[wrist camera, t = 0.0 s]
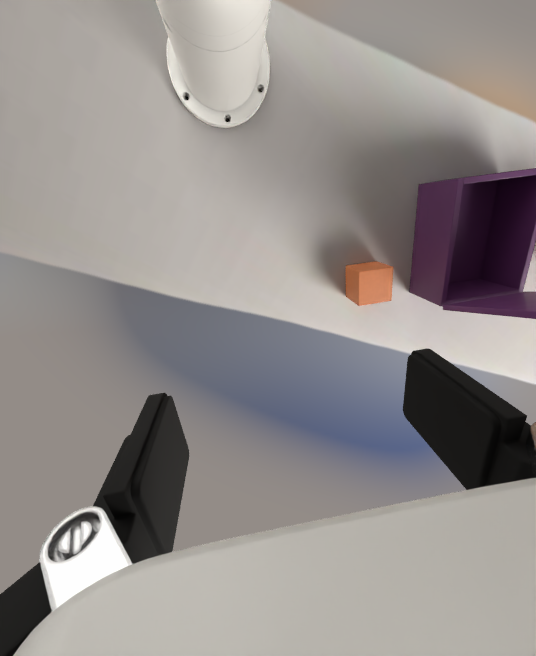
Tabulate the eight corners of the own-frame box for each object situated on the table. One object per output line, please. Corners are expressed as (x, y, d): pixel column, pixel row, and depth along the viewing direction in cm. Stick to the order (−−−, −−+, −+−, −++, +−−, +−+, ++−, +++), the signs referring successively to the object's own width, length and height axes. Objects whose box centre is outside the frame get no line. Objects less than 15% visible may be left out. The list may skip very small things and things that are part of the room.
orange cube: (345, 265, 47) (358, 271, 42) (376, 260, 47) (393, 266, 42) (345, 296, 49) (358, 306, 44) (375, 291, 49) (391, 300, 44)
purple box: (418, 184, 43) (458, 178, 36) (499, 173, 44) (555, 165, 36) (409, 292, 50) (440, 306, 43) (479, 281, 51) (522, 293, 43)
